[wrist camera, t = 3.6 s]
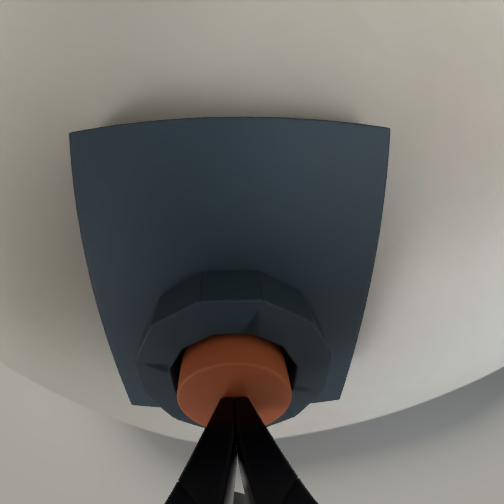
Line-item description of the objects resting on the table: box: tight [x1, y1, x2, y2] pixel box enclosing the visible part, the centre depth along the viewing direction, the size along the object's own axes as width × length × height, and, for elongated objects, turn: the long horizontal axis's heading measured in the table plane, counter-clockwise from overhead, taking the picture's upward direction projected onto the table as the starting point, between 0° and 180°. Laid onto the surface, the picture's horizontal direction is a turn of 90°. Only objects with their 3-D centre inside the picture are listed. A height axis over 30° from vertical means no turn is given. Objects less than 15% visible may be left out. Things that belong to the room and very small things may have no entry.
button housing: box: [69, 117, 390, 428], centre depth 11 cm, size 12×10×4 cm
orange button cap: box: [177, 333, 292, 427], centre depth 9 cm, size 4×4×2 cm
